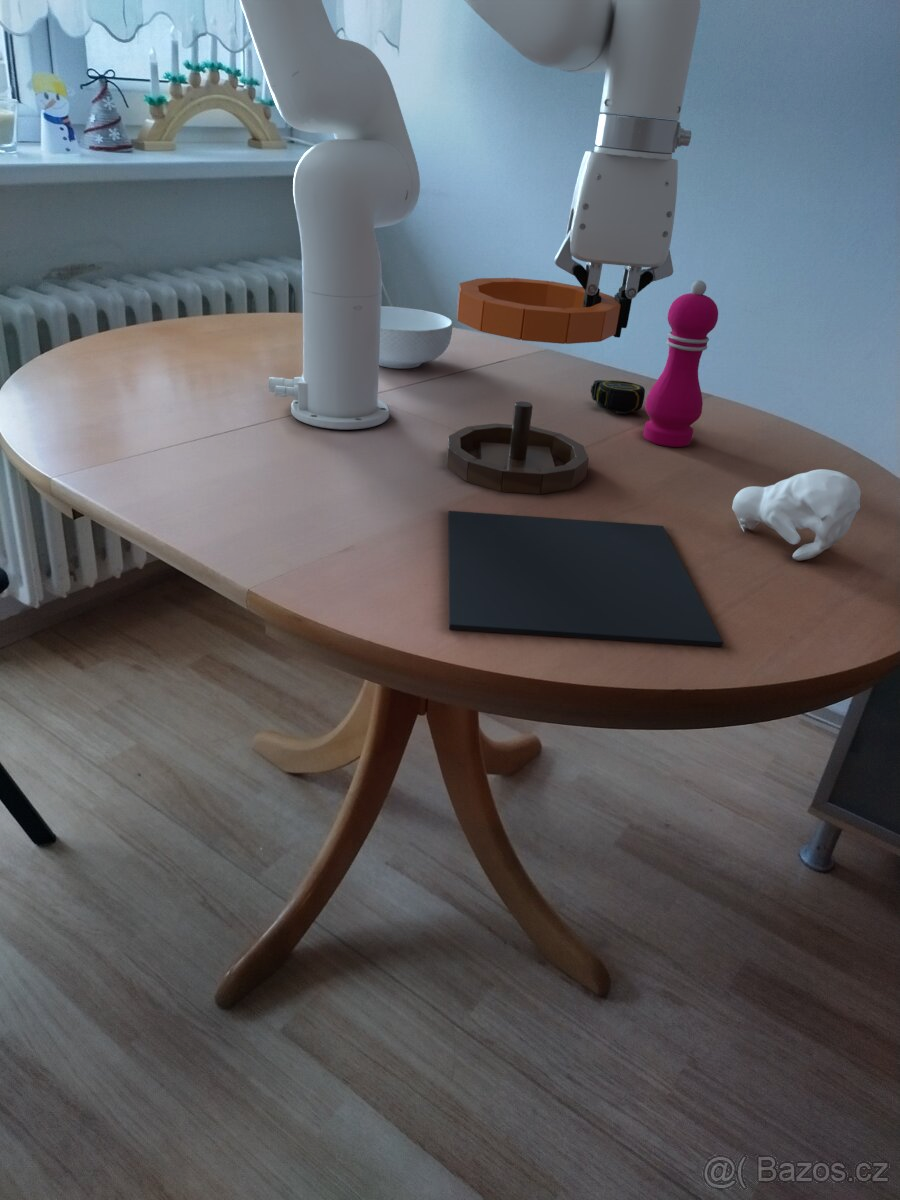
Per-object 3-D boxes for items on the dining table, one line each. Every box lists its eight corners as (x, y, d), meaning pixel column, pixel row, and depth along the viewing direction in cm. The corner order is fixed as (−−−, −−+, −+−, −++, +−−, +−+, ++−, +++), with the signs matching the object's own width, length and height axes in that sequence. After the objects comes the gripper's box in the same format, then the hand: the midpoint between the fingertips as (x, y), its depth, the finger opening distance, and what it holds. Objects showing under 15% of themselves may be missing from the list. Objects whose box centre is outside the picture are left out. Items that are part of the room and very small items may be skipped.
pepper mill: (695, 452, 110) (733, 288, 100) (638, 444, 111) (670, 281, 101) (693, 434, 116) (728, 279, 106) (639, 427, 117) (669, 272, 107)
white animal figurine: (847, 486, 78) (727, 458, 86) (827, 572, 82) (714, 537, 90) (874, 472, 82) (757, 446, 90) (855, 554, 86) (744, 523, 94)
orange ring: (458, 335, 84) (461, 303, 82) (455, 300, 98) (458, 272, 97) (626, 349, 85) (632, 318, 83) (599, 312, 99) (603, 285, 98)
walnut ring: (447, 488, 94) (449, 467, 92) (446, 438, 107) (448, 419, 106) (593, 498, 94) (596, 477, 93) (573, 447, 108) (576, 429, 107)
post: (481, 477, 97) (488, 412, 93) (479, 451, 104) (485, 390, 100) (555, 482, 97) (565, 418, 94) (548, 456, 105) (556, 395, 101)
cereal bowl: (448, 381, 129) (452, 333, 126) (337, 372, 129) (338, 324, 125) (450, 353, 144) (453, 309, 141) (350, 345, 144) (351, 301, 140)
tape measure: (634, 404, 127) (638, 378, 125) (646, 419, 121) (652, 392, 119) (588, 401, 126) (592, 376, 124) (599, 416, 120) (603, 390, 118)
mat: (449, 629, 68) (449, 624, 68) (448, 514, 87) (448, 510, 87) (721, 647, 69) (723, 642, 69) (662, 529, 88) (663, 525, 88)
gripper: (705, 145, 87) (666, 331, 96) (549, 129, 86) (525, 319, 95) (727, 149, 80) (683, 348, 89) (558, 132, 79) (531, 335, 89)
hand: (602, 332), depth 92 cm, fingers closed on orange ring, 2 cm apart
